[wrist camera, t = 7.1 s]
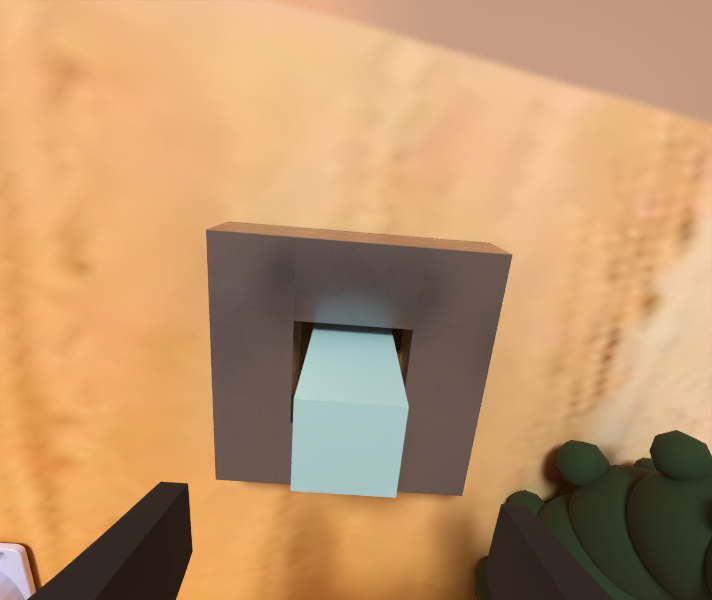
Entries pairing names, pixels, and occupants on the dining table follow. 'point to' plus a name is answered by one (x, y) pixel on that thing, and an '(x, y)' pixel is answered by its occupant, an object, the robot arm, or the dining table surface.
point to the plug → (349, 413)
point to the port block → (349, 307)
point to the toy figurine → (633, 519)
